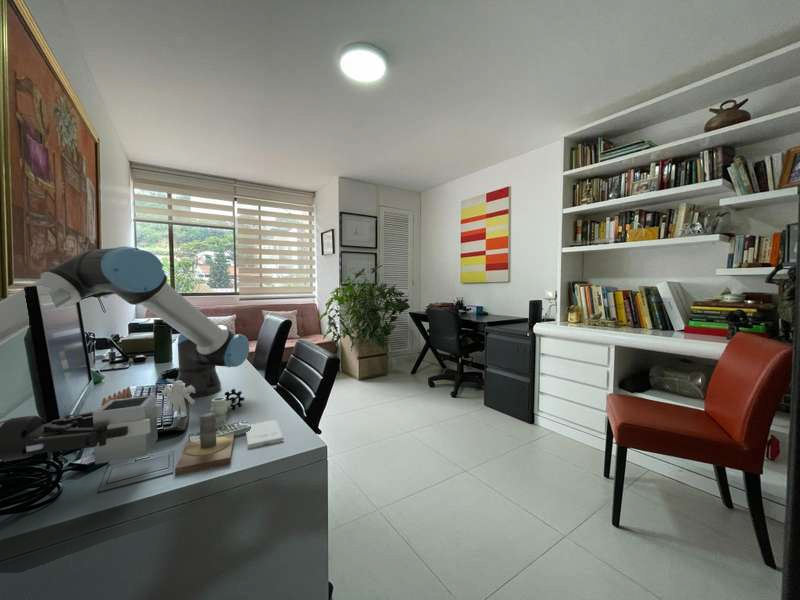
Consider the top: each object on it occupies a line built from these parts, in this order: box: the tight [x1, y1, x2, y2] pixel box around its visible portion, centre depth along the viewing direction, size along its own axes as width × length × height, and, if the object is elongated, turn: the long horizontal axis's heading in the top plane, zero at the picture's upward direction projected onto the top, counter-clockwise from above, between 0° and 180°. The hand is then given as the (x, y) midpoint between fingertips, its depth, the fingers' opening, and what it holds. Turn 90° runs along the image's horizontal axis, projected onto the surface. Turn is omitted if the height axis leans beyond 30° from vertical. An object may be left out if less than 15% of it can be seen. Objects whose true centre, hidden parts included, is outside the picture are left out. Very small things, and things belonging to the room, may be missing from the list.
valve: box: [210, 388, 245, 425], centre depth 97 cm, size 7×7×12 cm
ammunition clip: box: [101, 386, 133, 407], centre depth 83 cm, size 11×2×12 cm, turn 10°
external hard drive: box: [245, 419, 285, 450], centre depth 84 cm, size 2×8×12 cm
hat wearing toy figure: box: [161, 378, 195, 413], centre depth 97 cm, size 9×4×12 cm, turn 97°
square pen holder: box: [93, 394, 159, 465], centre depth 67 cm, size 8×8×10 cm
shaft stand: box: [174, 412, 235, 476], centre depth 75 cm, size 16×10×9 cm, turn 24°
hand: (155, 417), depth 69 cm, fingers closed on square pen holder, 8 cm apart
